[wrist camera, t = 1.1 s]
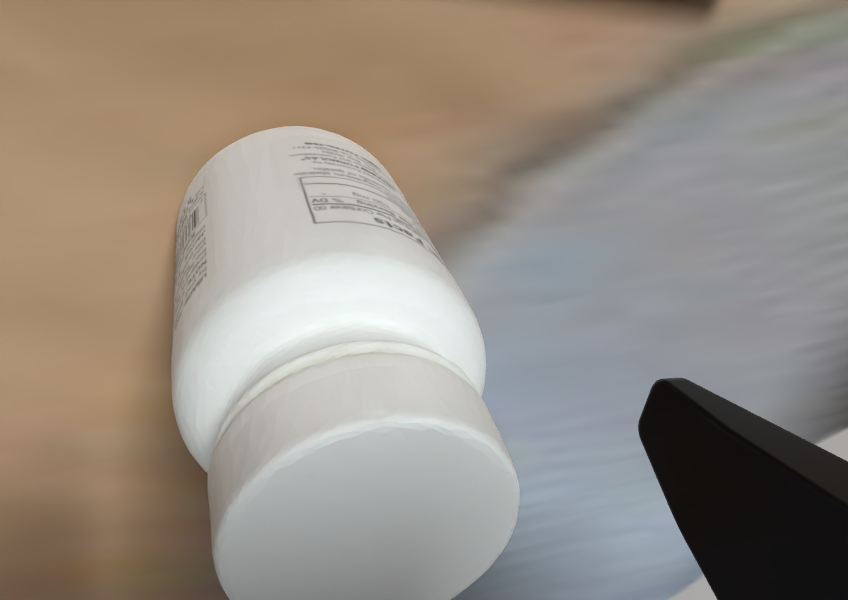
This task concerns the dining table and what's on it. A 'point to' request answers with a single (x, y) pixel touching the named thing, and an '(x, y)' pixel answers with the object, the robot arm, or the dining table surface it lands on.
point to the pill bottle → (331, 381)
